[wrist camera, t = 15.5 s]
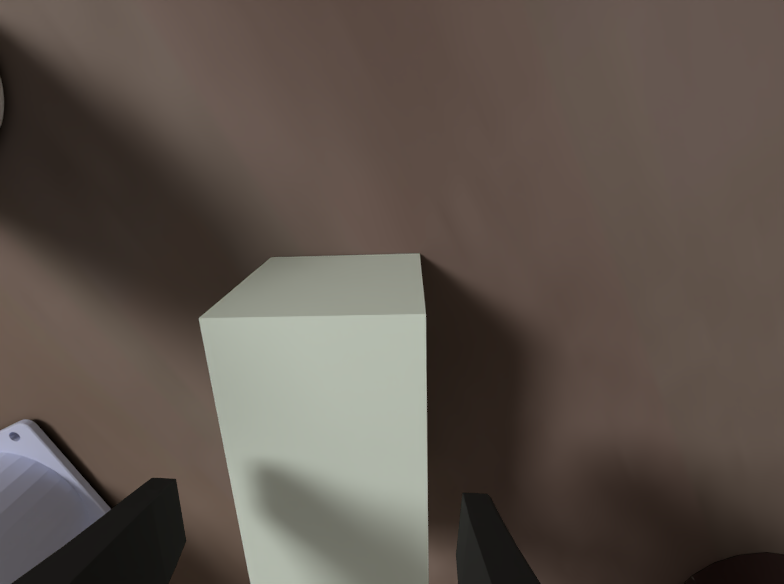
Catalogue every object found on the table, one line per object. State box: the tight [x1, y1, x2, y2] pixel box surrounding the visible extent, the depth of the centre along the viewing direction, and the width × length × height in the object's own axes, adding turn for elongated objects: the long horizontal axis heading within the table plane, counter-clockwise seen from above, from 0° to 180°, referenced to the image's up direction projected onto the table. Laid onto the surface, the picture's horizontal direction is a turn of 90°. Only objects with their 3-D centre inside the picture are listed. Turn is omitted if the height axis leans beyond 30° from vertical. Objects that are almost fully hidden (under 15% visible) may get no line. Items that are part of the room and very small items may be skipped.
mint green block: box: [199, 253, 429, 584], centre depth 16 cm, size 10×6×6 cm, turn 2°
